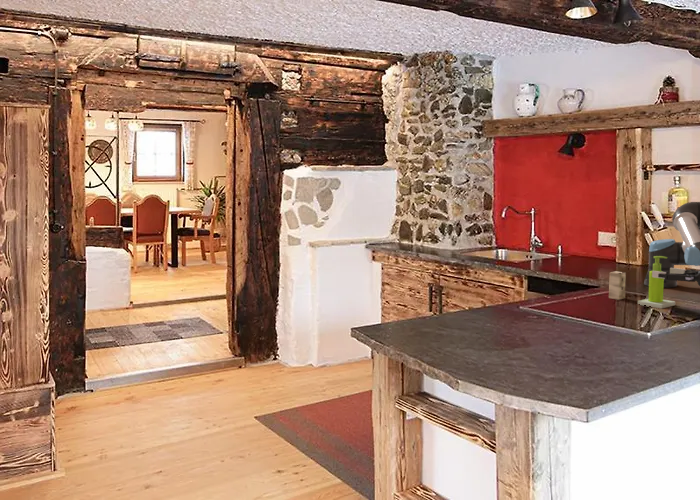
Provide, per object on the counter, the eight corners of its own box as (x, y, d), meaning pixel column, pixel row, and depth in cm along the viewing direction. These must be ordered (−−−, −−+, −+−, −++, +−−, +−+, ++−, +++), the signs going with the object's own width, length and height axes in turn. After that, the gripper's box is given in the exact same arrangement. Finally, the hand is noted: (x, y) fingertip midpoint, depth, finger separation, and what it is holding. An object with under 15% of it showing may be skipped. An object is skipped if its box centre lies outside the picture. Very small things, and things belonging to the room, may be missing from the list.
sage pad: (651, 301, 301) (651, 297, 301) (675, 305, 292) (675, 301, 292) (637, 304, 295) (637, 300, 294) (661, 308, 286) (661, 304, 285)
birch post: (615, 296, 313) (615, 270, 311) (625, 298, 308) (626, 272, 307) (608, 297, 310) (609, 271, 308) (618, 299, 305) (619, 273, 304)
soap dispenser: (667, 302, 290) (668, 257, 287) (650, 302, 291) (651, 257, 288) (663, 299, 295) (665, 255, 293) (646, 299, 297) (648, 255, 294)
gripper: (693, 291, 265) (644, 284, 282) (726, 284, 279) (677, 277, 296) (694, 272, 264) (645, 266, 281) (726, 266, 278) (677, 261, 295)
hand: (661, 272), depth 289 cm, fingers open, 13 cm apart
